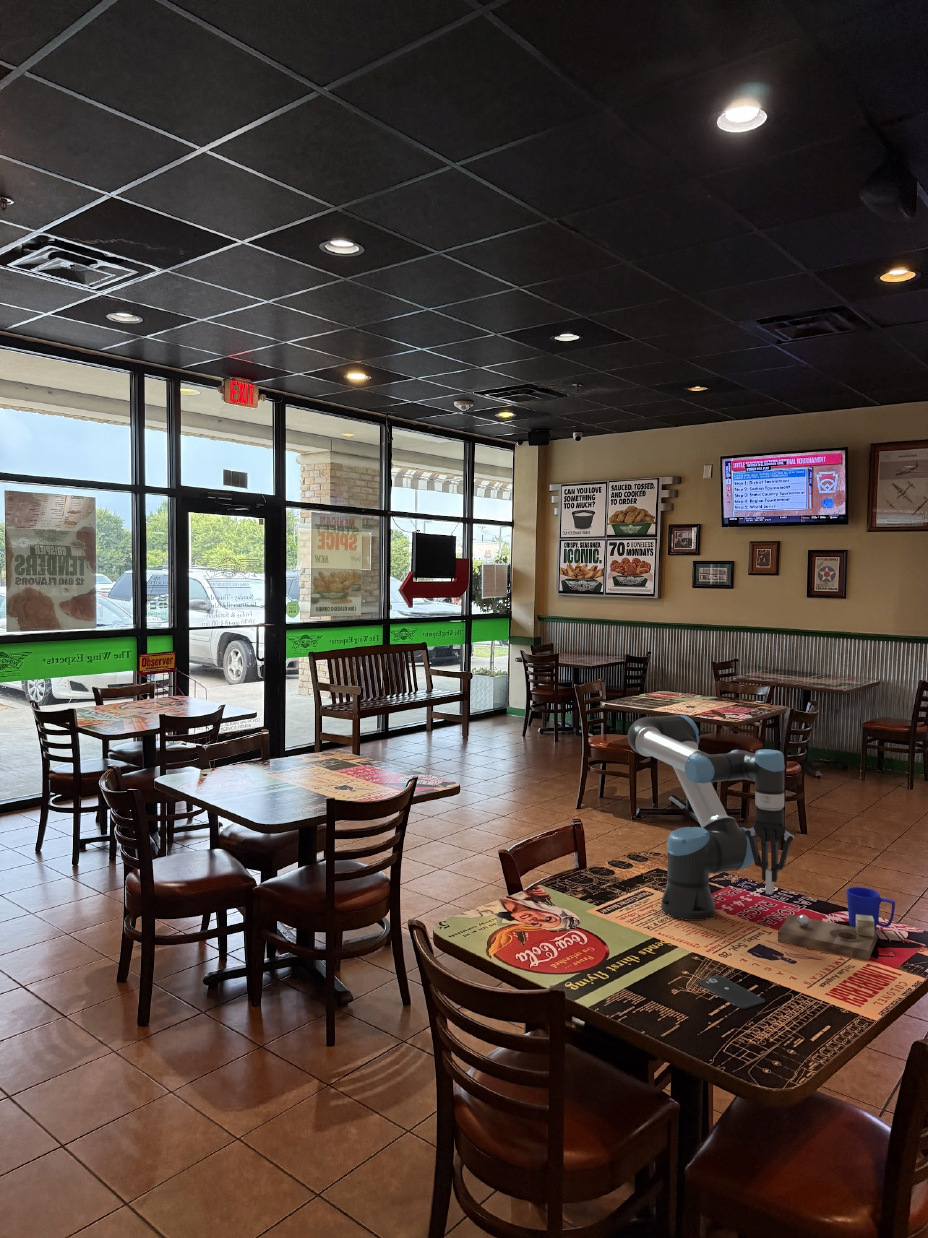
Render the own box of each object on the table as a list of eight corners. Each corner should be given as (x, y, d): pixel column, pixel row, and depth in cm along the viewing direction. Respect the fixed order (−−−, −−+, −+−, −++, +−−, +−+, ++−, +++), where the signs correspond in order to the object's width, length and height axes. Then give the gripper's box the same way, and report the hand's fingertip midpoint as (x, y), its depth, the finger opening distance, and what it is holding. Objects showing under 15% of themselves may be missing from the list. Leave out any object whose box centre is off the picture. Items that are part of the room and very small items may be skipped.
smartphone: (719, 977, 206) (719, 974, 206) (767, 1004, 193) (767, 1000, 193) (695, 984, 203) (695, 981, 203) (742, 1011, 189) (742, 1008, 189)
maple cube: (857, 935, 224) (857, 920, 223) (855, 929, 227) (855, 914, 227) (874, 936, 222) (874, 921, 222) (872, 931, 226) (872, 916, 226)
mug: (891, 940, 226) (891, 903, 226) (843, 929, 234) (843, 893, 233) (897, 930, 233) (898, 894, 232) (850, 920, 240) (850, 885, 240)
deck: (777, 941, 226) (777, 931, 226) (789, 923, 238) (789, 914, 238) (868, 960, 214) (868, 950, 214) (876, 941, 226) (876, 931, 226)
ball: (795, 927, 229) (795, 916, 229) (798, 923, 231) (798, 912, 231) (808, 930, 227) (808, 918, 227) (810, 926, 230) (810, 914, 229)
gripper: (741, 807, 233) (741, 892, 234) (791, 813, 226) (791, 901, 227) (749, 801, 240) (749, 884, 240) (797, 807, 232) (797, 893, 233)
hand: (769, 892), depth 233 cm, fingers closed
